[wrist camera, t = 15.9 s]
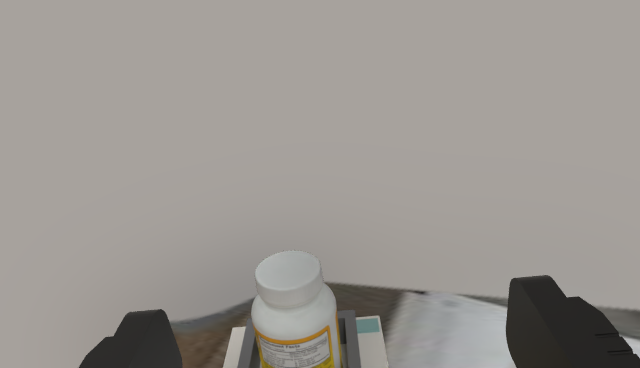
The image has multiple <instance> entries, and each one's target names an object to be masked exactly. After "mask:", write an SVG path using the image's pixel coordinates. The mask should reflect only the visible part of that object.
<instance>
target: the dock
mask: <svg viewBox="0 0 640 368" xmlns="http://www.w3.org/2000/svg"><path fill="white" fill-rule="evenodd" d="M337 316H338V326H339V335H340V345H341V354H342V363H343V368H389V366H388V361H387V355H386V350H385V344H384V339H383V334H382V328H381V323H380V317H379V316H368V317H356V316H355V310H343V311H337ZM223 368H262V364H261V360H260V355H259V350H258V346H257V341H256V337H255V332H254V327H253V323H252V318H248V319H247V324H246V327H236V328H233V329H232V333H231V337H230V341H229V345H228V349H227V353H226V357H225V361H224V365H223Z"/></svg>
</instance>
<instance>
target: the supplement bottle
mask: <svg viewBox="0 0 640 368" xmlns="http://www.w3.org/2000/svg"><path fill="white" fill-rule="evenodd" d="M255 280H256V286H257V292H258V295H257V296H256V298H255V300H254V302H253V305H252V310H251V316H252V323H253V327H254V332H255V337H256V341H257V346H258V350H259V355H260V360H261V364H262V368H343V363H342V354H341V345H340V335H339V326H338V316H337V306H336V300H335V297H334V294H333V292H332V291H331V289H330V288H329V287H328V286H327V285H326V284H325V283H324V282H323V276H322V270H321V264H320V262H319V260H318V259H317V258H316V257H315V256H314V255H312V254H310V253H308V252H304V251H296V250H294V251H283V252H279V253H276V254H273V255H271V256H269V257H267V258H266V259H264V260H263V261H262V262H261V263H260V264H259V265H258V266H257V268H256V271H255Z"/></svg>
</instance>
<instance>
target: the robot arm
mask: <svg viewBox="0 0 640 368" xmlns="http://www.w3.org/2000/svg"><path fill="white" fill-rule="evenodd" d="M506 338H507V344H508V348H509V351H510V354H511V357H512V359H513V361H514V363H515V365H516V367H517V368H640V358H639V357H638V356H637V354H634V353H633V351H632V348H631V347H630V346H629V345H628V343H627V342H626V341H625V340H624V339H623V337H620V336H619V332H618V331H617V330H616V329H615V328H614V326H613V325H612V324H611V323H610V321H609V320H608V319H607V318H606V317H605V315H604V314H603V313H602V312H601V311H599V310H598V309H596V308H595V307H593V306H592V305H590V304H589V303H587V302H586V301H584V300H583V299H581V298H580V297H568V298H567V297H566V296H565V295H564V293H563V292H562V291H561V289H560V288H559V287H558V285H557V284H556V283H555V281H554V280H553V279H552V278H551V277H550V276H548V275H544V276H532V277H521V278H513V279H512V280H511V282H510V287H509V298H508V310H507V321H506ZM79 368H182V358H181V354H180V351H179V348H178V346H177V343H176V340H175V337H174V334H173V331H172V329H171V326H170V323H169V320H168V317H167V315H166V313H165V312H164V311H163V310H161V309H160V310H148V311H137V312H129V313H128V314H127V315H126V316H125V317H124V319H123V320H122V322H121V324H120V325H119V327H118V329H117V331H116V333H115V335H114V336H113V337H105V338H104V339H103V340H102V341H101V342H100V343H99V344H98V345H97V346H96V347H95V348H94V349H93V350H91V351H90V352H89V353H88V354H87V355H86V357H85V358H84V360H83V361H82V363H81V365H80V367H79Z"/></svg>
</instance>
